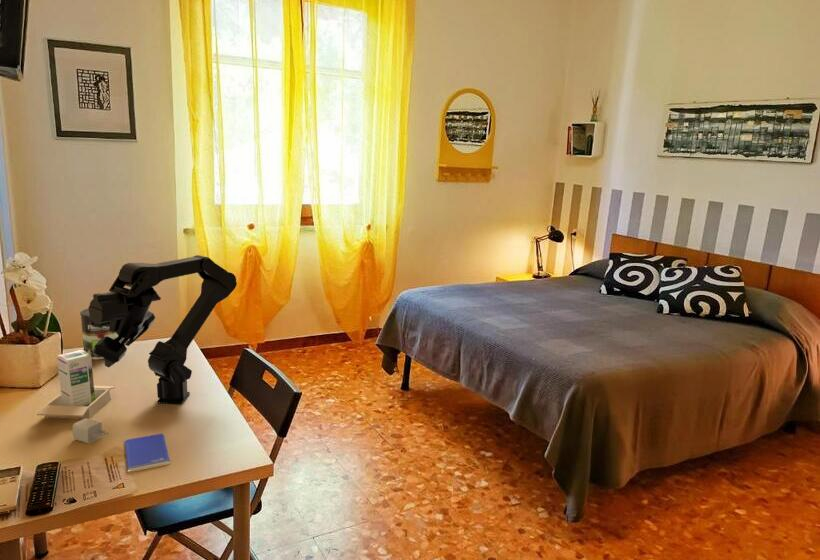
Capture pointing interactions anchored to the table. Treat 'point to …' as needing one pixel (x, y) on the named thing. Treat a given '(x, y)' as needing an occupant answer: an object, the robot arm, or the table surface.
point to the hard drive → (146, 452)
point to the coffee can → (93, 334)
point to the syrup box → (76, 378)
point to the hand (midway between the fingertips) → (117, 355)
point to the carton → (58, 410)
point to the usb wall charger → (88, 430)
